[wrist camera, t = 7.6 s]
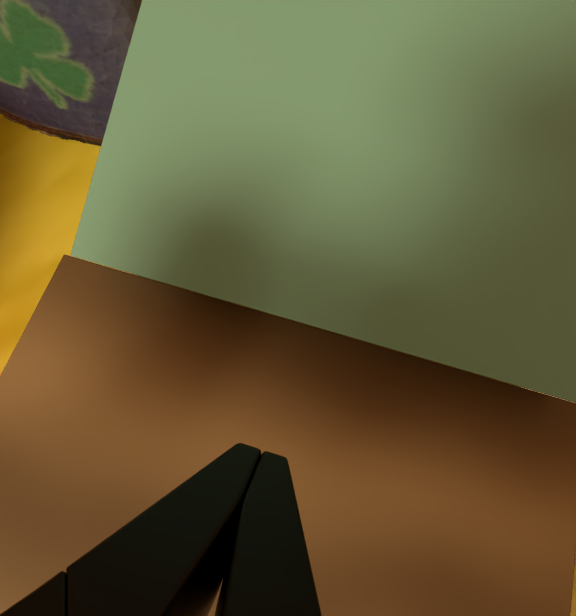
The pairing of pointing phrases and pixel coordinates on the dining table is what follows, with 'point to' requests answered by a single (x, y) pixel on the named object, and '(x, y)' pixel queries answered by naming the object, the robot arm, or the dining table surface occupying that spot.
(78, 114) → the flask
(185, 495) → the robot arm
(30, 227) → the dining table surface
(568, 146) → the tailgate
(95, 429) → the brown flat block
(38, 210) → the dining table surface
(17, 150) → the dining table surface
